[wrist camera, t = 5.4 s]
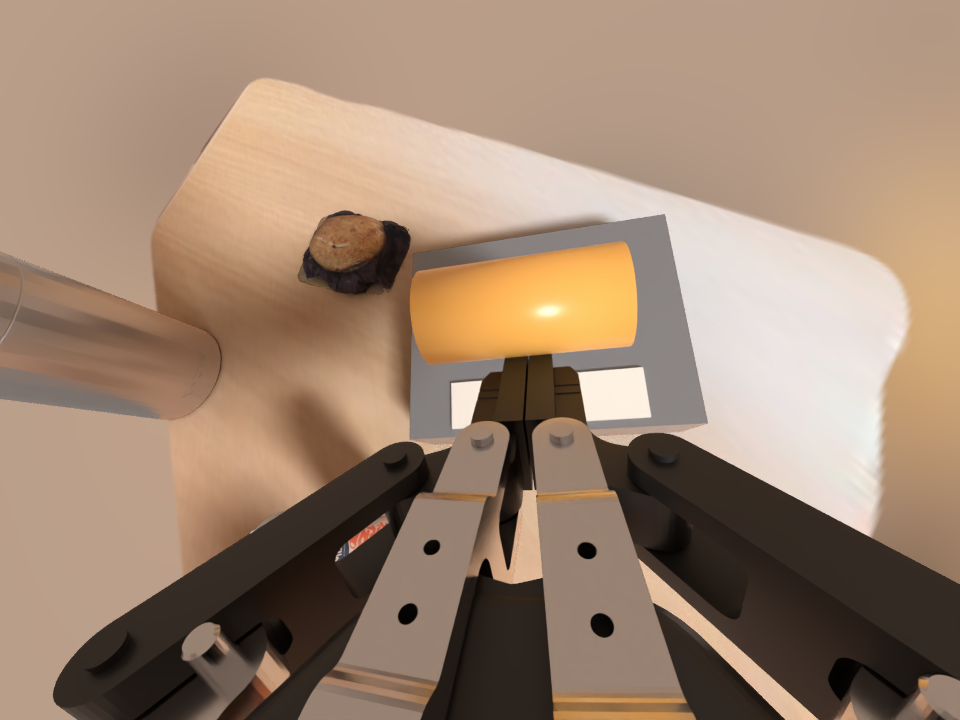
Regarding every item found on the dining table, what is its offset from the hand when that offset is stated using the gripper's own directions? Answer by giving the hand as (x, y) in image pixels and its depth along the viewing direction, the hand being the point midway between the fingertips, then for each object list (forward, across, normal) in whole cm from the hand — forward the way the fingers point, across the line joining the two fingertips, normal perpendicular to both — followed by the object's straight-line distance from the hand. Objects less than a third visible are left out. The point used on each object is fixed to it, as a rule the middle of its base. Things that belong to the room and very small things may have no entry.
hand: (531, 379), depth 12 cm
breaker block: (+16, 0, +7) cm, 18 cm away
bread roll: (+25, +18, -1) cm, 30 cm away
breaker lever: (+12, 0, +2) cm, 12 cm away
